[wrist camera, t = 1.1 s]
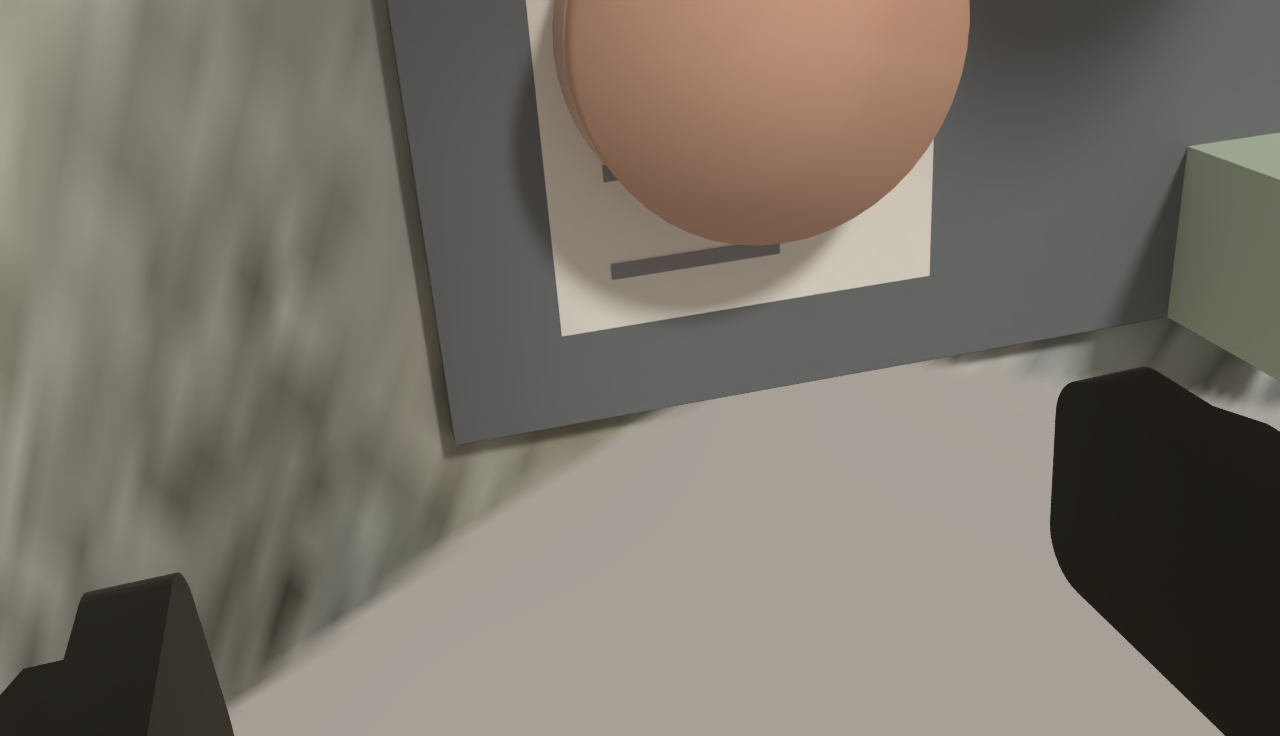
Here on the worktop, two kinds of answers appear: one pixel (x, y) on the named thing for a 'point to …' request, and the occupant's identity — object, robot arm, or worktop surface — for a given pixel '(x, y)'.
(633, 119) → the peach domed disc
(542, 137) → the mat
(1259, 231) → the cube
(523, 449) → the worktop surface
